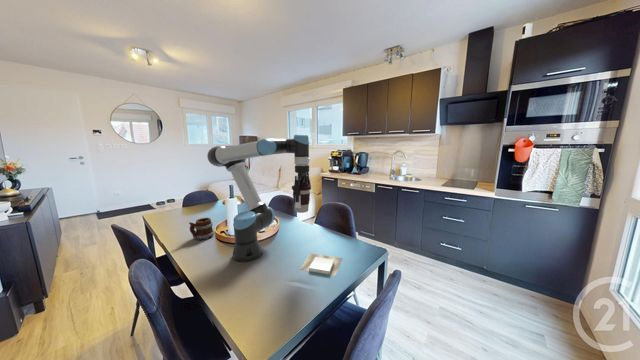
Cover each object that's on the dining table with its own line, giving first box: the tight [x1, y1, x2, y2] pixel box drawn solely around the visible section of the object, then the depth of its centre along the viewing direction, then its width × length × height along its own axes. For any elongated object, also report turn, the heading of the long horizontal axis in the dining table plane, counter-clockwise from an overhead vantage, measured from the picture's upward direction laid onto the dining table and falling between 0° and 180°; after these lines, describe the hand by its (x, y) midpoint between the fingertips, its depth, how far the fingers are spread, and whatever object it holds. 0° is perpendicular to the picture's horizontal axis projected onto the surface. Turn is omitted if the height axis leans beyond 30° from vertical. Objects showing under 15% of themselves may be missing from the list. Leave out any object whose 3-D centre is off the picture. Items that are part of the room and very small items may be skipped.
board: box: [299, 253, 343, 277], centre depth 110 cm, size 18×16×1 cm
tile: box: [308, 257, 334, 276], centre depth 106 cm, size 10×2×10 cm
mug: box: [188, 217, 215, 241], centre depth 143 cm, size 12×14×15 cm
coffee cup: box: [291, 182, 312, 214], centre depth 114 cm, size 10×10×15 cm
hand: (302, 204), depth 117 cm, fingers open, 13 cm apart
